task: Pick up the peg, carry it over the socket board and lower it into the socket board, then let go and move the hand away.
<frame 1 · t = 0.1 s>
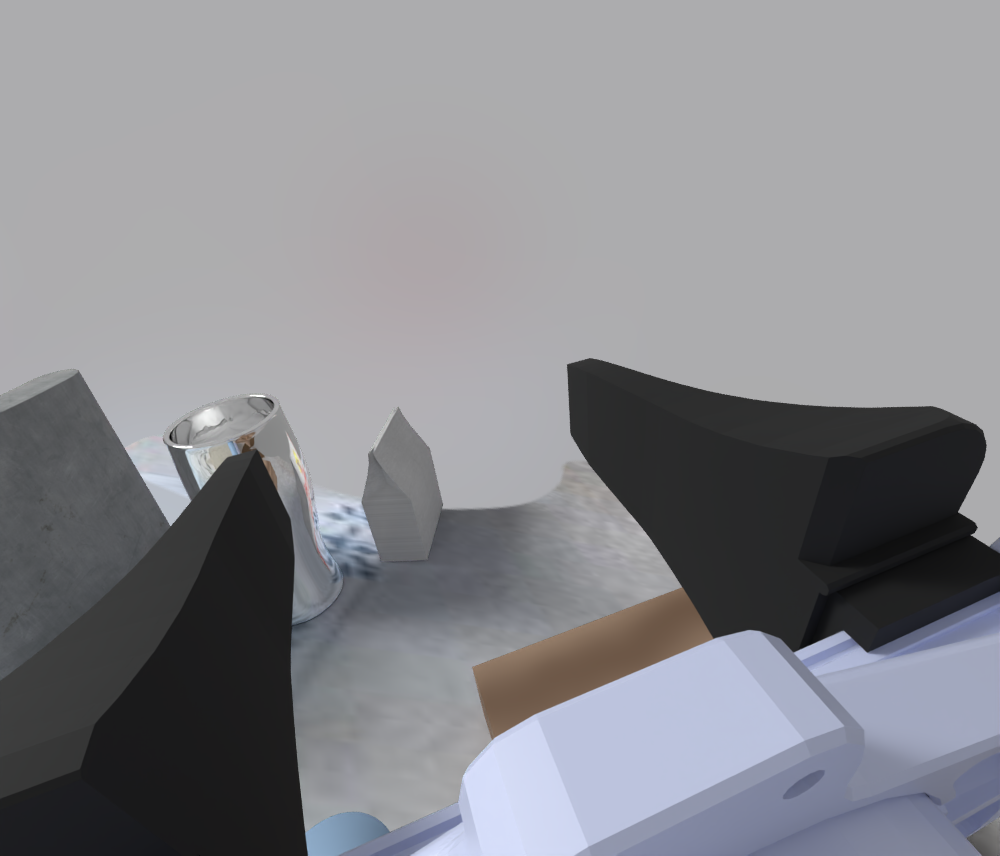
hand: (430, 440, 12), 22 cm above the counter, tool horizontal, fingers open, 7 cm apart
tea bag: (414, 533, 43), on the counter
socket board: (680, 814, 23), on the counter
silver metal tumbler: (303, 594, 38), on the counter
hip flask: (106, 639, 37), on the counter
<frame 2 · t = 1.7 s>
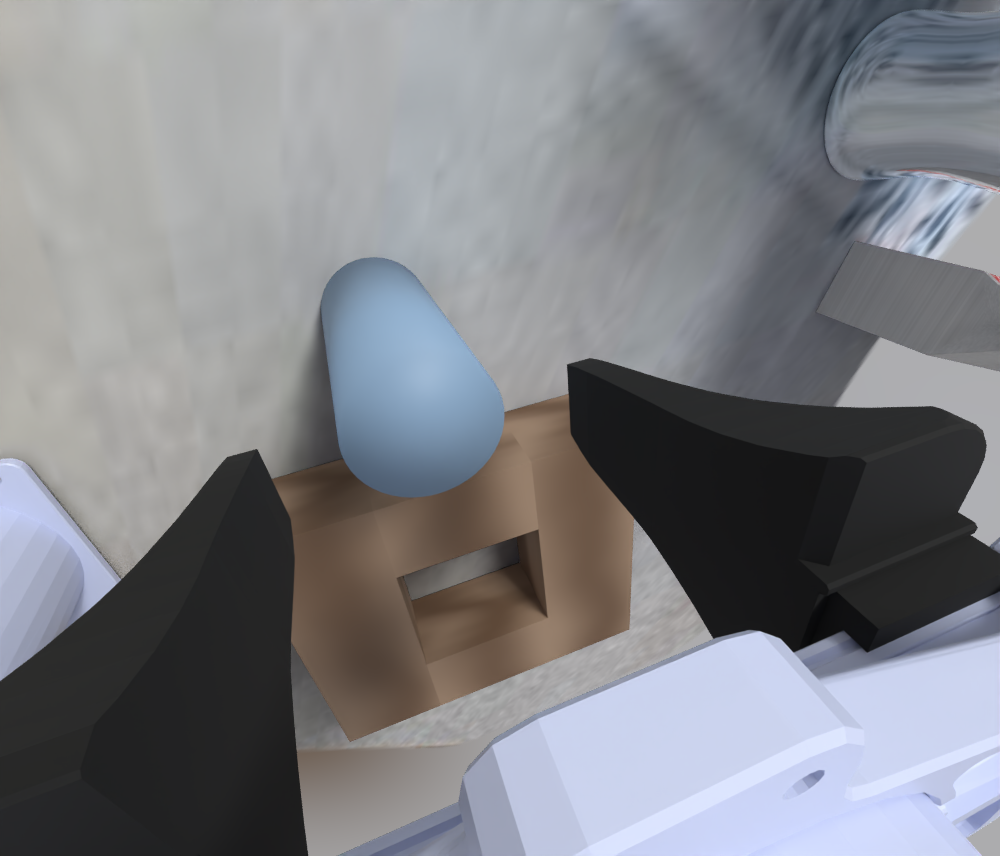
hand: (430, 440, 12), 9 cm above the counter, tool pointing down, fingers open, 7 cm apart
peg: (376, 311, 19), on the counter
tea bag: (871, 288, 28), on the counter
socket board: (457, 541, 27), on the counter
silver metal tumbler: (877, 101, 22), on the counter
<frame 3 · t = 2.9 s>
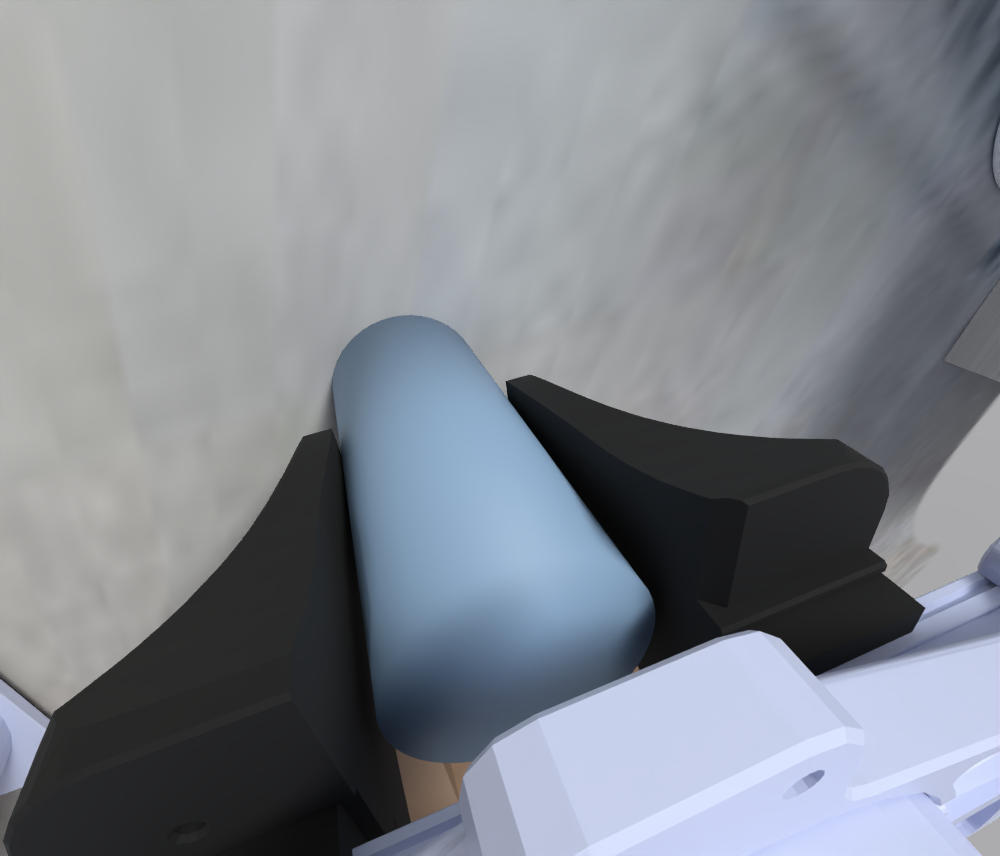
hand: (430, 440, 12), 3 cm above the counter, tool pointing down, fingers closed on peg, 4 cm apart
peg: (408, 385, 14), on the counter, touching gripper
socket board: (498, 646, 22), on the counter
when the fingers open (5 cm above the counter, at t = 6.4 s): peg drops 2 cm, resting in socket board.
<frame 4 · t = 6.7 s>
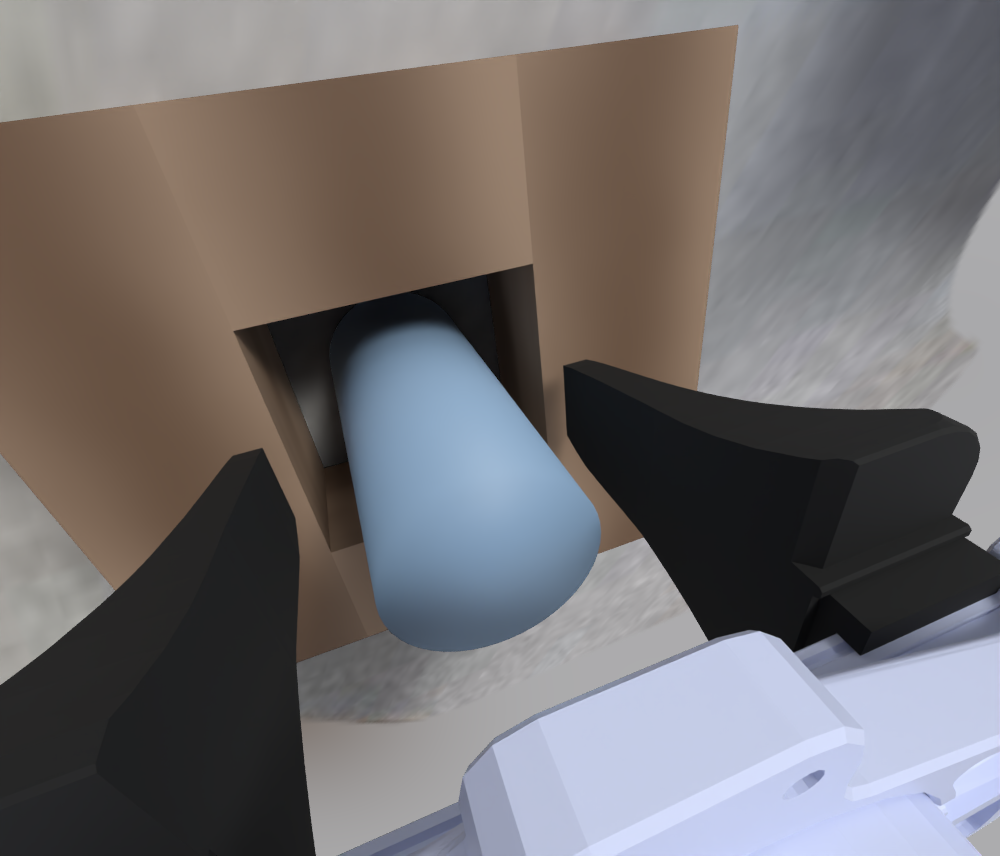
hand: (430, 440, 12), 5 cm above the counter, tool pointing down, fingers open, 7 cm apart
peg: (397, 356, 16), resting in socket board
socket board: (396, 357, 16), on the counter
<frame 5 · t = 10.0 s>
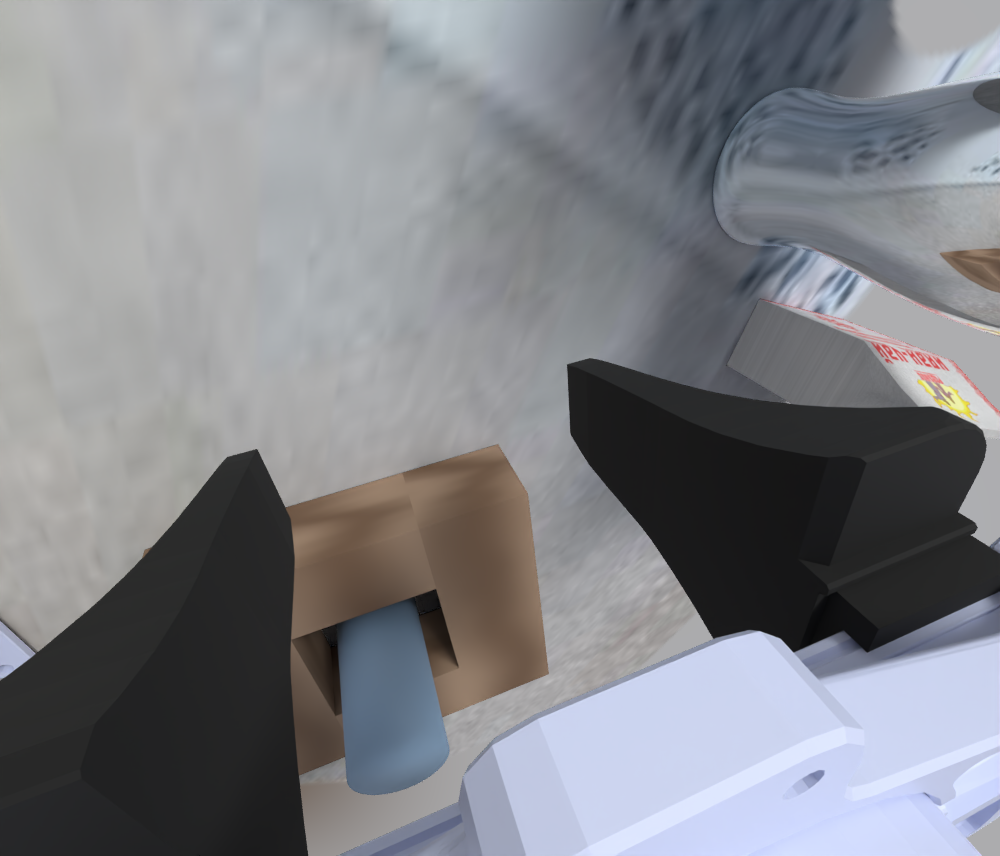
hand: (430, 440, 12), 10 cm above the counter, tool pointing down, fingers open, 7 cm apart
peg: (373, 590, 27), resting in socket board
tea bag: (783, 340, 28), on the counter
socket board: (373, 591, 27), on the counter
silver metal tumbler: (767, 170, 23), on the counter
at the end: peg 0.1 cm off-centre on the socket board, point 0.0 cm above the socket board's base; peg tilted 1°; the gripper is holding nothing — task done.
